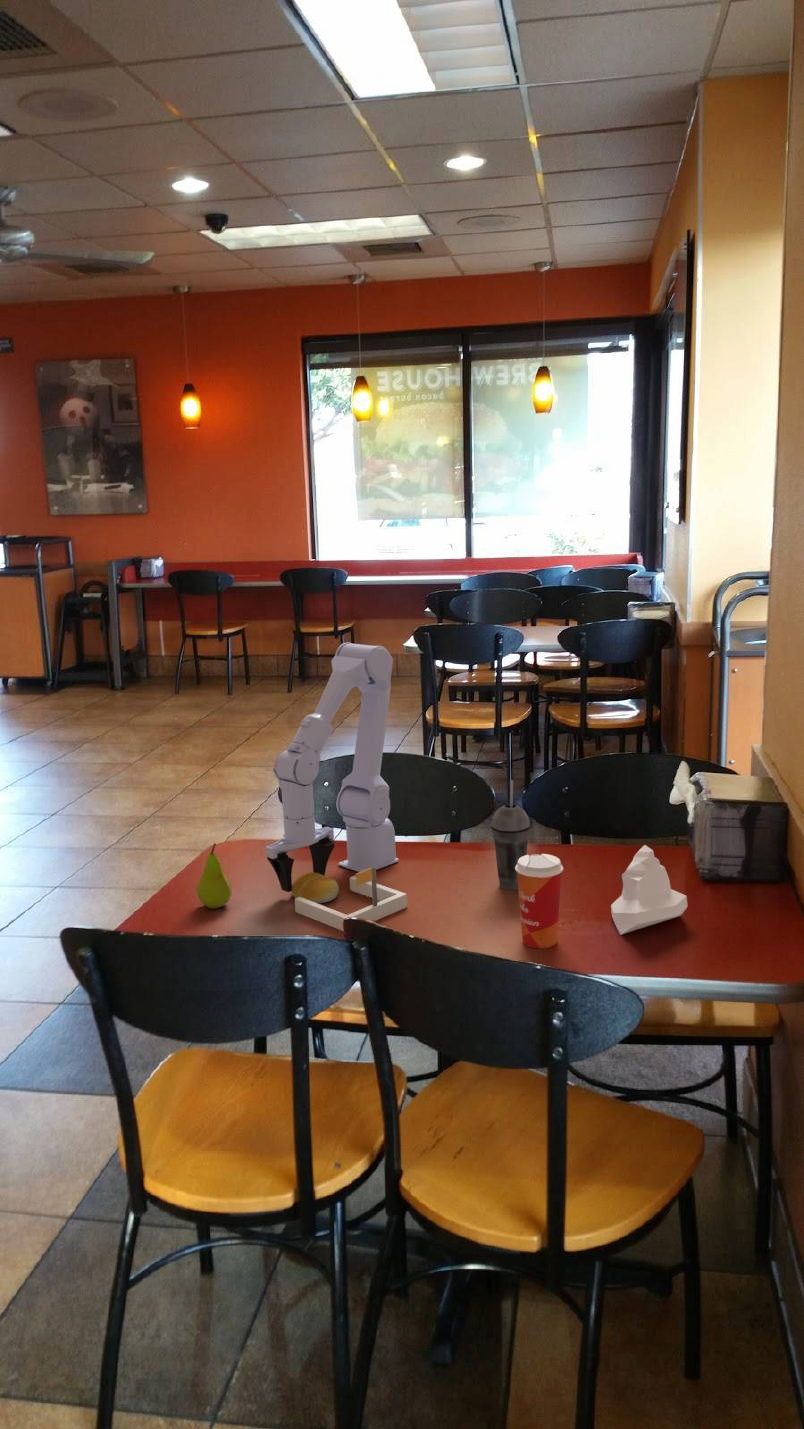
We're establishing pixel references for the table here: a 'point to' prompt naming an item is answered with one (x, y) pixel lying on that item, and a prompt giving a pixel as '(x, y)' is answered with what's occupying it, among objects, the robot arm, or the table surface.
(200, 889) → the fruit
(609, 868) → the table surface
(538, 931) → the paper cup
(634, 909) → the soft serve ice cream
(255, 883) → the table surface
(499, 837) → the beverage cup
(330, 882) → the bread roll
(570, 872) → the table surface
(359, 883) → the pocket
